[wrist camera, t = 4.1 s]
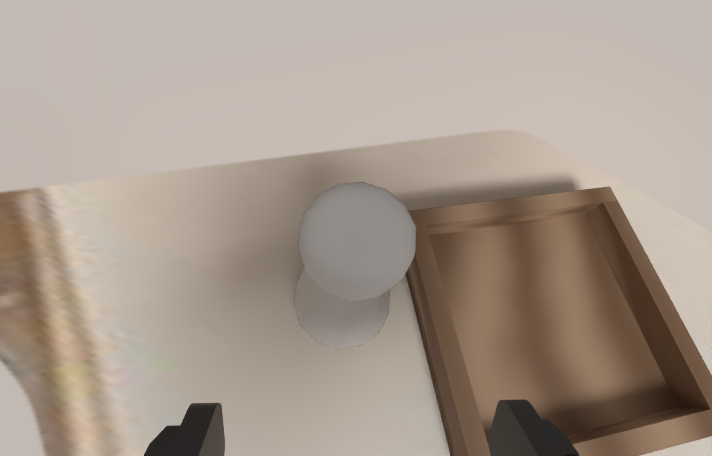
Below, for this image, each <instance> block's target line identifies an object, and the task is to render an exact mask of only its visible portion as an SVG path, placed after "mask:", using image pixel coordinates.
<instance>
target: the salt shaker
mask: <svg viewBox="0 0 712 456" xmlns="http://www.w3.org/2000/svg"><path fill="white" fill-rule="evenodd" d="M415 246H416V226H415V224H414V222H413V220H412V218H411V216H410V214H409V212H408V210H407V208H406V206H405V205H404V204H403V203H402V202H401V201H400V200H398V199H397V198H396V197H395V196H394V195H393V194H391V193H390V192H389V191H388V190H387V189H384V188H380V187H377V186H374V185H371V184H367V183H364V182H359V183H344V184H338V185H336V186H334V187H332V188H330V189H328V190H327V191H325V192H323V193H321V194H319V195H318V196H317V197H316V198H315V200H314V201H313V202H312V204H311V205H310V206H309V207H308V209H307V210H306V211H305V213H304V214H303V217H302V220H301V226H300V233H299V240H298V248H299V252H300V255H301V258H302V261H303V264H304V269H303V271H302V273H301V275H300V278H299V280H298V282H297V286H296V293H295V300H294V307H295V310H296V313H297V316H298V320H299V323H300V326H301V327H302V328H303V329H304V330H305V331H306V332H307V333H308V334H309V335H310V336H311V337H312V338H313V339H314V340H315V341H316V342H319V343H322V344H324V345H327V346H330V347H333V348H336V349H343V348H349V347H355V346H360V345H362V344H363V343H365V342H366V341H368V340H369V339H371V338H372V337H374V336H375V335H377V334H378V333H379V331H380V329H381V327H382V325H383V324H384V322H385V320H386V318H387V316H388V313H389V296H390V288H392V287H393V286H395V285H397V284H398V283H399V282H400V281H401V280H402V279H403V278H404V276H405V274H406V272H407V270H408V268H409V266H410V264H411V262H412V260H413V258H414V255H415Z"/></svg>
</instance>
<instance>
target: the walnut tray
mask: <svg viewBox="0 0 712 456" xmlns="http://www.w3.org/2000/svg"><path fill="white" fill-rule="evenodd" d="M408 212H409V214H410V216H411V218H412V220H413V222H414V224H415V226H416V246H415V255H414V258H413V260H412V262H411V264H410V266H409V268H408V270H407V272H406V275H407V279H408V284H409V288H410V292H411V296H412V300H413V304H414V308H415V312H416V316H417V320H418V324H419V328H420V332H421V336H422V340H423V344H424V348H425V352H426V357H427V361H428V365H429V369H430V373H431V377H432V381H433V385H434V389H435V393H436V397H437V401H438V405H439V409H440V413H441V417H442V421H443V425H444V430H445V434H446V438H447V442H448V446H449V450H450V454H451V456H491V455H490V450H489V434H490V430H491V426H492V422H493V419H494V415H495V411H496V407H497V404H498V402H499V401H500V400H520V399H525V400H527V401H529V402H530V403H531V405H532V406H533V407H534V409H535V410H536V412H537V413H538V415H539V416H540V418H541V419H548V420H549V421H551V422H552V423H553V424H554V425H555V426H556V427H557V428H558V429H560V430H561V431H562V432H563V433H564V434H565V435H566V436H567V437H568V439H569V440H570V442H571V443H572V445H573V446H574V447H575V449H576V450H577V452H578V453H579V456H639V455H643V454H647V453H650V452H654V451H658V450H662V449H665V448H669V447H673V446H676V445H680V444H684V443H688V442H691V441H695V440H699V439H702V438H706V437H710V436H712V375H711V373H710V372H709V370H708V368H707V366H706V364H705V362H704V360H703V359H702V357H701V355H700V353H699V351H698V349H697V347H696V346H695V344H694V342H693V340H692V338H691V336H690V334H689V333H688V331H687V329H686V327H685V325H684V323H683V321H682V320H681V318H680V316H679V314H678V312H677V310H676V308H675V307H674V305H673V303H672V301H671V299H670V297H669V295H668V294H667V292H666V290H665V288H664V286H663V284H662V282H661V281H660V279H659V277H658V275H657V273H656V271H655V269H654V268H653V266H652V264H651V262H650V260H649V258H648V256H647V255H646V253H645V251H644V249H643V247H642V245H641V243H640V242H639V240H638V238H637V236H636V234H635V232H634V230H633V229H632V227H631V225H630V223H629V221H628V219H627V217H626V216H625V214H624V212H623V210H622V208H621V206H620V204H619V203H618V201H617V199H616V197H615V195H614V193H613V191H612V190H611V188H610V187H602V188H594V189H585V190H577V191H569V192H561V193H553V194H545V195H536V196H528V197H520V198H512V199H504V200H495V201H487V202H479V203H471V204H463V205H455V206H446V207H438V208H430V209H422V210H414V211H408Z"/></svg>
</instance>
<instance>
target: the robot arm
mask: <svg viewBox="0 0 712 456" xmlns="http://www.w3.org/2000/svg"><path fill="white" fill-rule="evenodd" d="M489 450H490V455H491V456H579V453H578V452H577V450H576V449H575V447H574V446H573V445H572V443H571V442H570V440H569V439H568V437H567V436H566V435H565V434H564V433H563V432H562V431H561V430H560V429H558V428H557V427H556V426H555V425H554V424H553V423H552V422H551V421H549V420H548V419H541V418H540V416H539V415H538V413H537V412H536V410H535V409H534V407H533V406H532V405H531V403H530V402H529V401H527V400H525V399H520V400H500V401H499V402H498V404H497V407H496V411H495V415H494V419H493V422H492V426H491V430H490V434H489ZM224 451H225V437H224V427H223V416H222V406H221V404H220V403H192V404H191V405H190V406H189V408H188V410H187V412H186V414H185V417H184V419H183V421H182V423H181V426H166V427H165V428H164V429H163V431H162V432H161V433H160V434H159V435H158V436H157V437H156V438H155V439H154V440H153V441H152V442H151V443H150V444H149V446H148V448H147V450H146V452H145V454H144V456H224Z"/></svg>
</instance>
